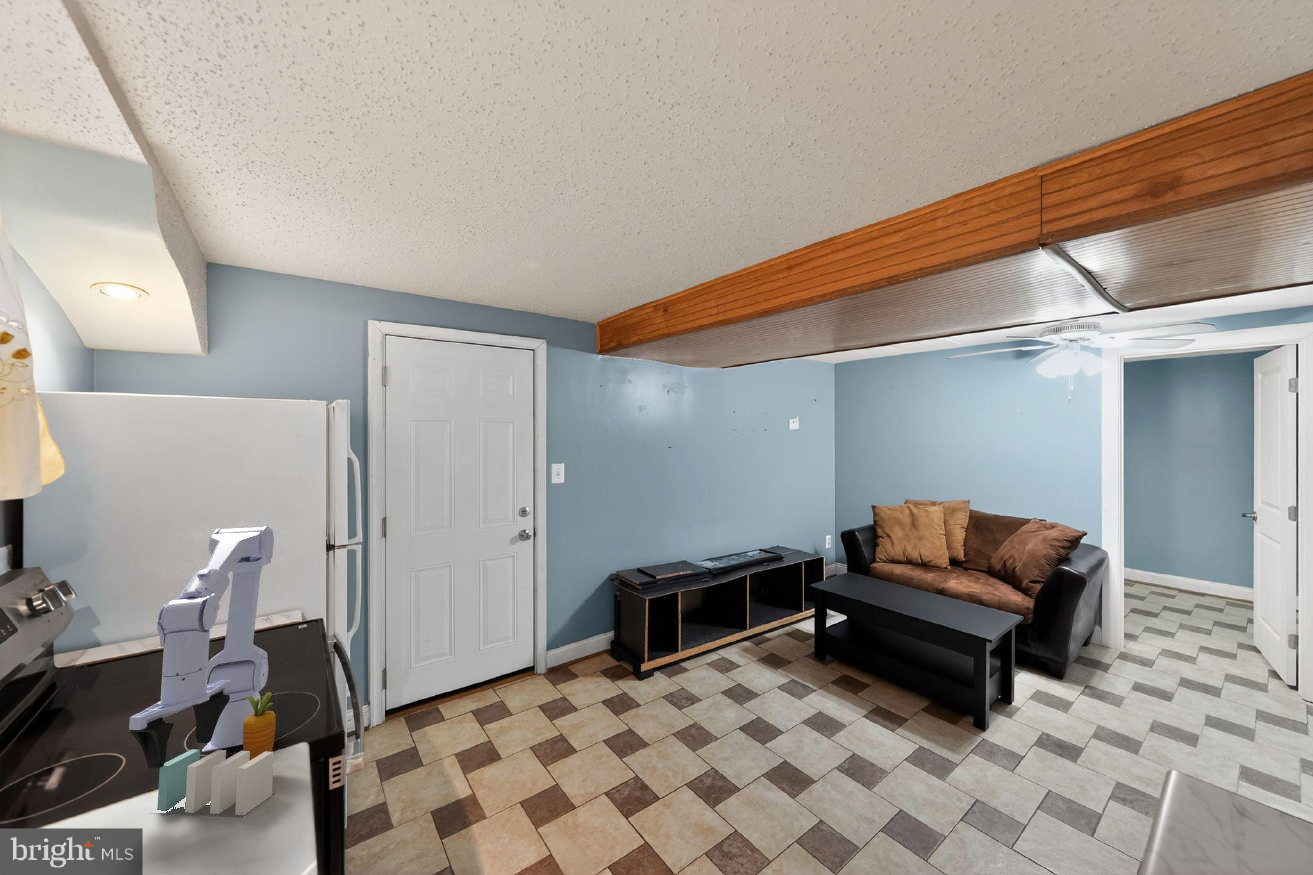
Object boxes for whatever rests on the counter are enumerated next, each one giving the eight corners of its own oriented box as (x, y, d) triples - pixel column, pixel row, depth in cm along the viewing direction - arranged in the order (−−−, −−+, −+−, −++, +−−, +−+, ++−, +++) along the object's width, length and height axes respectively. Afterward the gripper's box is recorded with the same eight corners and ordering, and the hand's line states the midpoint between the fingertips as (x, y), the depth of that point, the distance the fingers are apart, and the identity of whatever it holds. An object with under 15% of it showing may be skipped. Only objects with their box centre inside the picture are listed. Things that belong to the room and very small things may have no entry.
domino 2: (209, 813, 80) (212, 767, 80) (239, 794, 84) (241, 750, 85) (218, 813, 79) (221, 767, 80) (247, 794, 84) (249, 750, 85)
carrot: (233, 784, 88) (237, 695, 90) (266, 769, 93) (269, 685, 94) (247, 791, 86) (251, 700, 87) (280, 776, 90) (283, 690, 92)
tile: (157, 811, 81) (159, 765, 81) (189, 792, 86) (191, 749, 86) (165, 811, 80) (168, 765, 81) (197, 792, 85) (200, 749, 86)
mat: (150, 815, 80) (150, 812, 80) (188, 792, 86) (188, 790, 86) (242, 819, 78) (242, 817, 78) (275, 796, 84) (275, 793, 84)
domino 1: (184, 812, 80) (187, 766, 81) (215, 793, 85) (217, 749, 86) (193, 812, 80) (196, 766, 81) (223, 793, 85) (226, 750, 85)
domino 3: (235, 814, 79) (237, 768, 80) (263, 794, 84) (265, 751, 85) (244, 814, 79) (246, 768, 80) (271, 795, 84) (273, 751, 85)
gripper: (159, 688, 77) (154, 780, 76) (246, 655, 92) (242, 732, 90) (119, 687, 78) (113, 778, 77) (211, 655, 92) (208, 731, 91)
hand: (181, 753), depth 84 cm, fingers open, 7 cm apart
